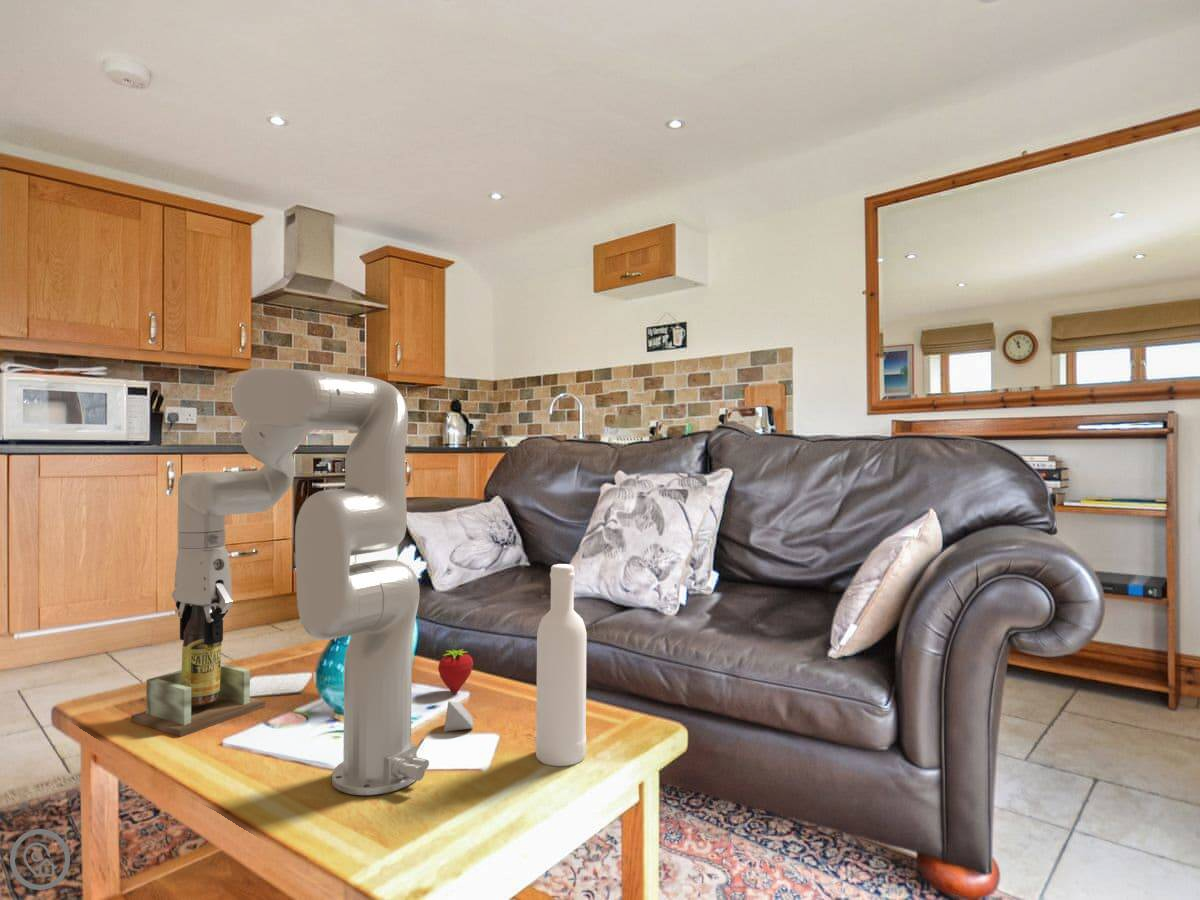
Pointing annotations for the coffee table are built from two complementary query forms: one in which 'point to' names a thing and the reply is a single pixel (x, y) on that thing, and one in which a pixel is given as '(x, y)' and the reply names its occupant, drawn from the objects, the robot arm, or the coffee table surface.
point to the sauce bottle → (200, 660)
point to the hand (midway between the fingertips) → (201, 639)
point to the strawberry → (455, 669)
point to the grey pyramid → (457, 718)
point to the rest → (179, 718)
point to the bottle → (561, 676)
